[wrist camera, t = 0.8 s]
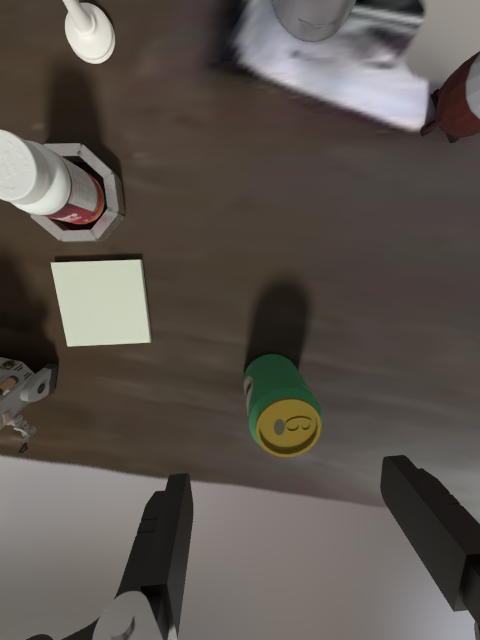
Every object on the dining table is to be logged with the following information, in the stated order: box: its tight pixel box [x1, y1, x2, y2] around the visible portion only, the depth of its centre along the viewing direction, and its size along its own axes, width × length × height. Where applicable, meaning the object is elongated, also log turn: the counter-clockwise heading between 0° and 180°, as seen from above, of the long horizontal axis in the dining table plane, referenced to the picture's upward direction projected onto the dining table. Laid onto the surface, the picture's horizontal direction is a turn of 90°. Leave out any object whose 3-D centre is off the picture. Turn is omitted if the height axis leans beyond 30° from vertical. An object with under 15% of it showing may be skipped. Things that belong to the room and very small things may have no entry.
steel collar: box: [28, 143, 125, 242], centre depth 30 cm, size 10×10×2 cm
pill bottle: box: [0, 130, 104, 224], centre depth 26 cm, size 6×6×11 cm
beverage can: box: [243, 354, 322, 457], centre depth 32 cm, size 8×8×12 cm
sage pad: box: [51, 260, 152, 346], centre depth 34 cm, size 11×11×1 cm
